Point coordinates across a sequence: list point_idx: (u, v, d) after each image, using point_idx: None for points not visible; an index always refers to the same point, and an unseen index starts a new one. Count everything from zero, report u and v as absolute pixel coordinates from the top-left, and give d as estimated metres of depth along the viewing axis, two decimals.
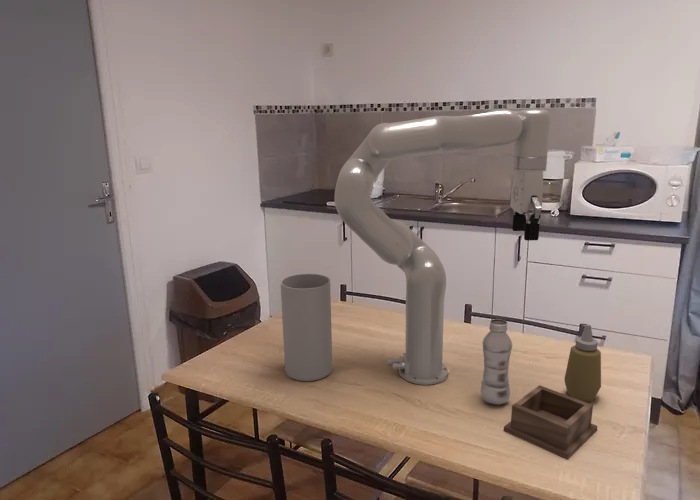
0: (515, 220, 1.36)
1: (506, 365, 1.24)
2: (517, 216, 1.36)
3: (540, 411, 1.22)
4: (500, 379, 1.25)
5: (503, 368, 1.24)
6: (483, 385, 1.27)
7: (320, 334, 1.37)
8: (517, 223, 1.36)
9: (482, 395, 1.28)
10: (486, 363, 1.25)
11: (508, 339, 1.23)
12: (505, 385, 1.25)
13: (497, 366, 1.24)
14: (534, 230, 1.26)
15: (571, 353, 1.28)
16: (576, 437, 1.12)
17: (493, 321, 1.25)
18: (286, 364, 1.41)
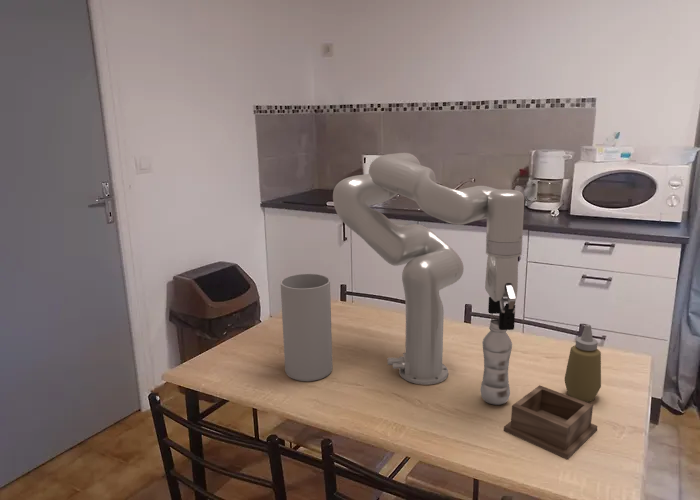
0: (491, 302, 1.27)
1: (506, 365, 1.24)
2: (493, 298, 1.27)
3: (540, 411, 1.22)
4: (500, 379, 1.25)
5: (503, 368, 1.24)
6: (483, 385, 1.27)
7: (320, 334, 1.37)
8: (493, 305, 1.27)
9: (482, 395, 1.28)
10: (486, 363, 1.25)
11: (508, 339, 1.23)
12: (505, 385, 1.25)
13: (497, 366, 1.24)
14: (509, 320, 1.17)
15: (571, 353, 1.28)
16: (576, 437, 1.12)
17: (493, 321, 1.25)
18: (286, 364, 1.41)
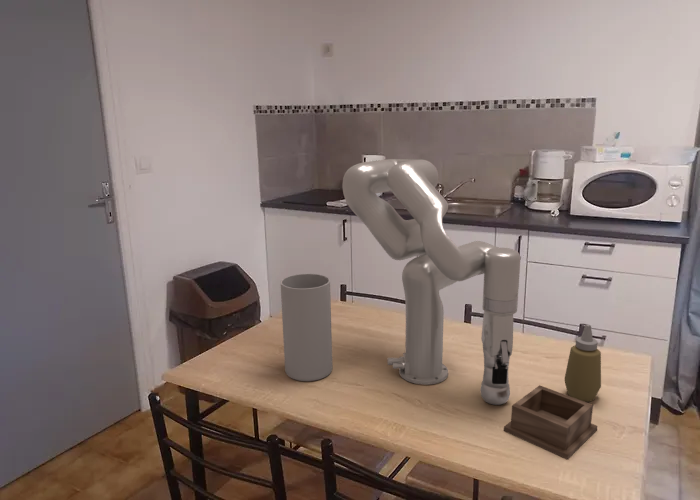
0: None
1: None
2: None
3: (540, 411, 1.22)
4: None
5: None
6: (483, 385, 1.27)
7: (320, 334, 1.37)
8: None
9: (482, 395, 1.28)
10: (486, 363, 1.25)
11: None
12: (505, 385, 1.25)
13: None
14: (502, 375, 1.23)
15: (571, 353, 1.28)
16: (576, 437, 1.12)
17: None
18: (286, 364, 1.41)
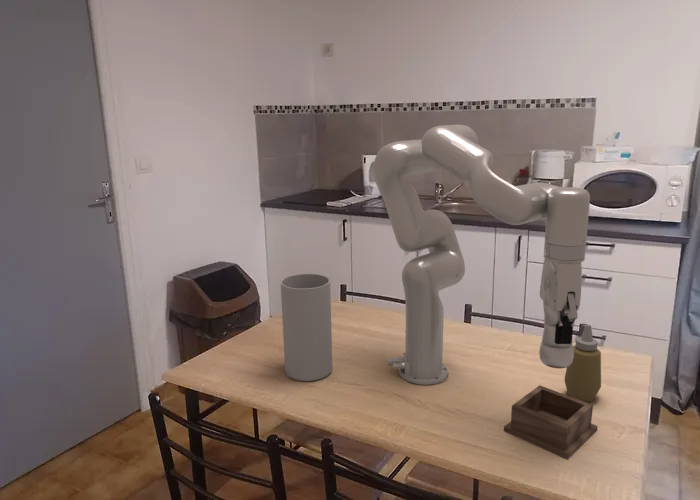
0: None
1: None
2: None
3: (540, 411, 1.22)
4: None
5: None
6: (543, 346, 1.12)
7: (320, 334, 1.37)
8: None
9: (542, 358, 1.12)
10: (547, 320, 1.10)
11: None
12: (569, 345, 1.10)
13: None
14: (567, 333, 1.07)
15: None
16: (576, 437, 1.12)
17: None
18: (286, 364, 1.41)
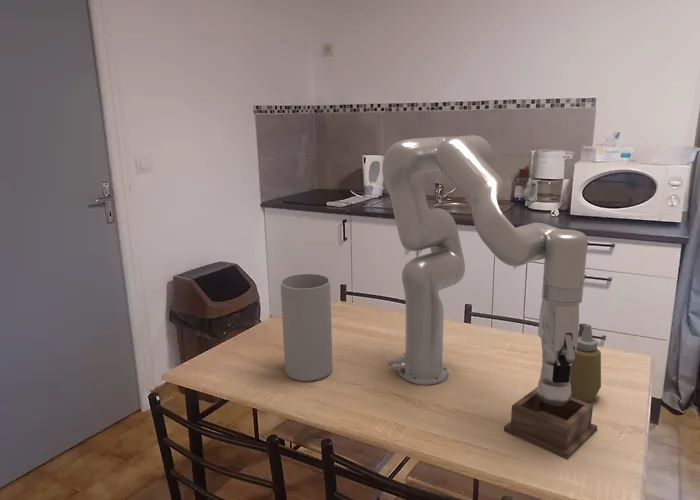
0: None
1: None
2: None
3: (540, 411, 1.22)
4: None
5: None
6: (541, 384, 1.14)
7: (320, 334, 1.37)
8: None
9: (540, 395, 1.14)
10: (546, 359, 1.12)
11: None
12: (567, 384, 1.12)
13: None
14: (564, 373, 1.09)
15: None
16: (576, 437, 1.12)
17: None
18: (286, 364, 1.41)
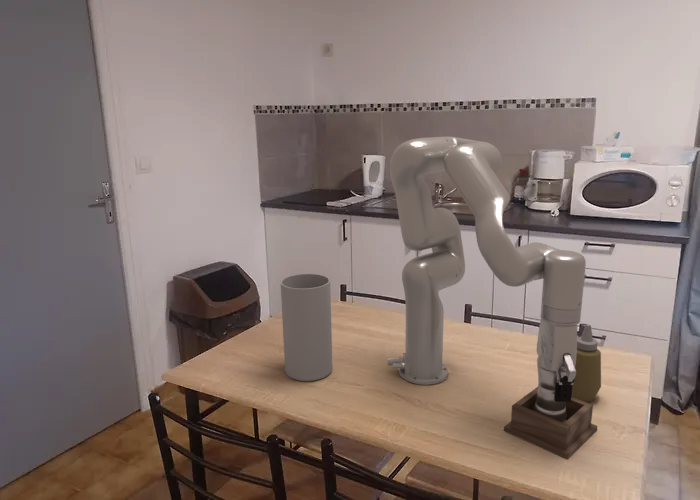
0: None
1: None
2: None
3: None
4: None
5: None
6: (537, 407, 1.16)
7: (320, 334, 1.37)
8: None
9: None
10: (541, 383, 1.14)
11: None
12: (562, 407, 1.14)
13: None
14: (566, 392, 1.08)
15: None
16: (576, 437, 1.12)
17: None
18: (286, 364, 1.41)
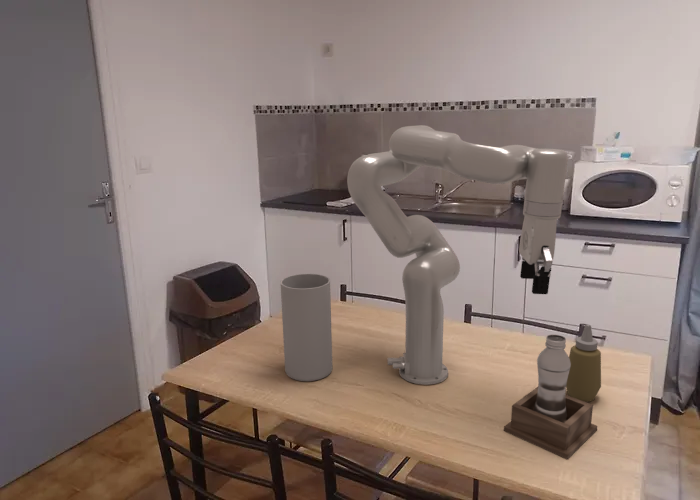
0: (524, 267, 1.23)
1: (564, 385, 1.13)
2: (526, 263, 1.23)
3: None
4: (558, 400, 1.13)
5: (561, 389, 1.13)
6: (537, 407, 1.16)
7: (320, 334, 1.37)
8: (526, 270, 1.23)
9: None
10: (541, 383, 1.14)
11: (567, 357, 1.12)
12: (562, 407, 1.14)
13: (555, 387, 1.12)
14: (543, 283, 1.13)
15: (571, 353, 1.28)
16: (576, 437, 1.12)
17: (549, 337, 1.14)
18: (286, 364, 1.41)
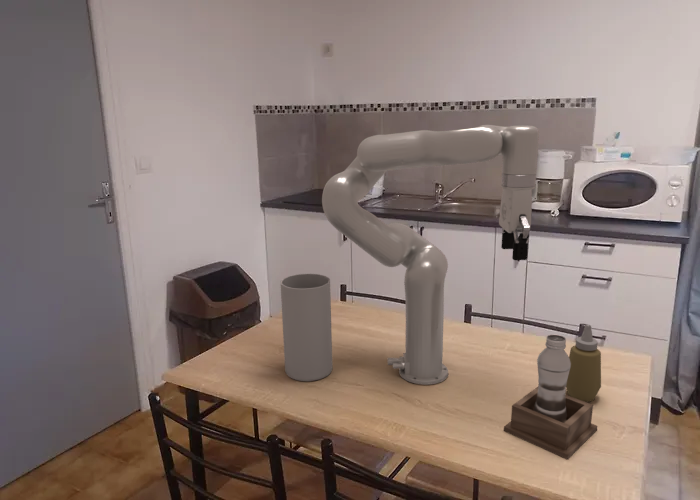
0: (504, 238, 1.32)
1: (564, 385, 1.13)
2: (506, 234, 1.32)
3: None
4: (558, 400, 1.13)
5: (561, 389, 1.13)
6: (537, 407, 1.16)
7: (320, 334, 1.37)
8: (506, 241, 1.33)
9: None
10: (542, 383, 1.14)
11: (567, 357, 1.12)
12: (562, 407, 1.14)
13: (555, 387, 1.12)
14: (522, 250, 1.23)
15: (571, 353, 1.28)
16: (576, 437, 1.12)
17: (549, 337, 1.14)
18: (286, 364, 1.41)
